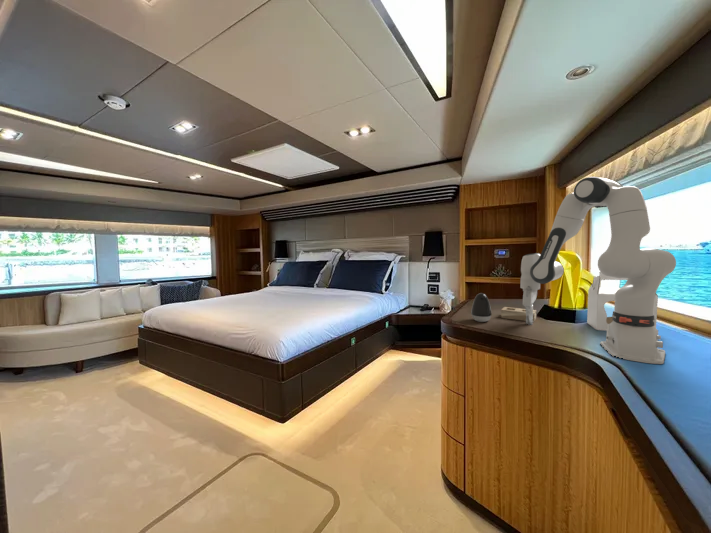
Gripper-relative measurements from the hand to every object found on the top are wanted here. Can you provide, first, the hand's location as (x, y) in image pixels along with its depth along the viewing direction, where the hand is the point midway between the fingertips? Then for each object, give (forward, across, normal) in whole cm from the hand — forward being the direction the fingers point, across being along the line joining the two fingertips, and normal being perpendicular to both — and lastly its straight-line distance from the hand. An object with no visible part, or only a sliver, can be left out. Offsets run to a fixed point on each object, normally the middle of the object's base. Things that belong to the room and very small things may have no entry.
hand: (529, 311), depth 155 cm
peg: (+6, -1, 0) cm, 6 cm away
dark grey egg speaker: (+7, -7, +22) cm, 24 cm away
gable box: (+6, +14, -36) cm, 39 cm away
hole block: (+7, +10, +6) cm, 14 cm away
